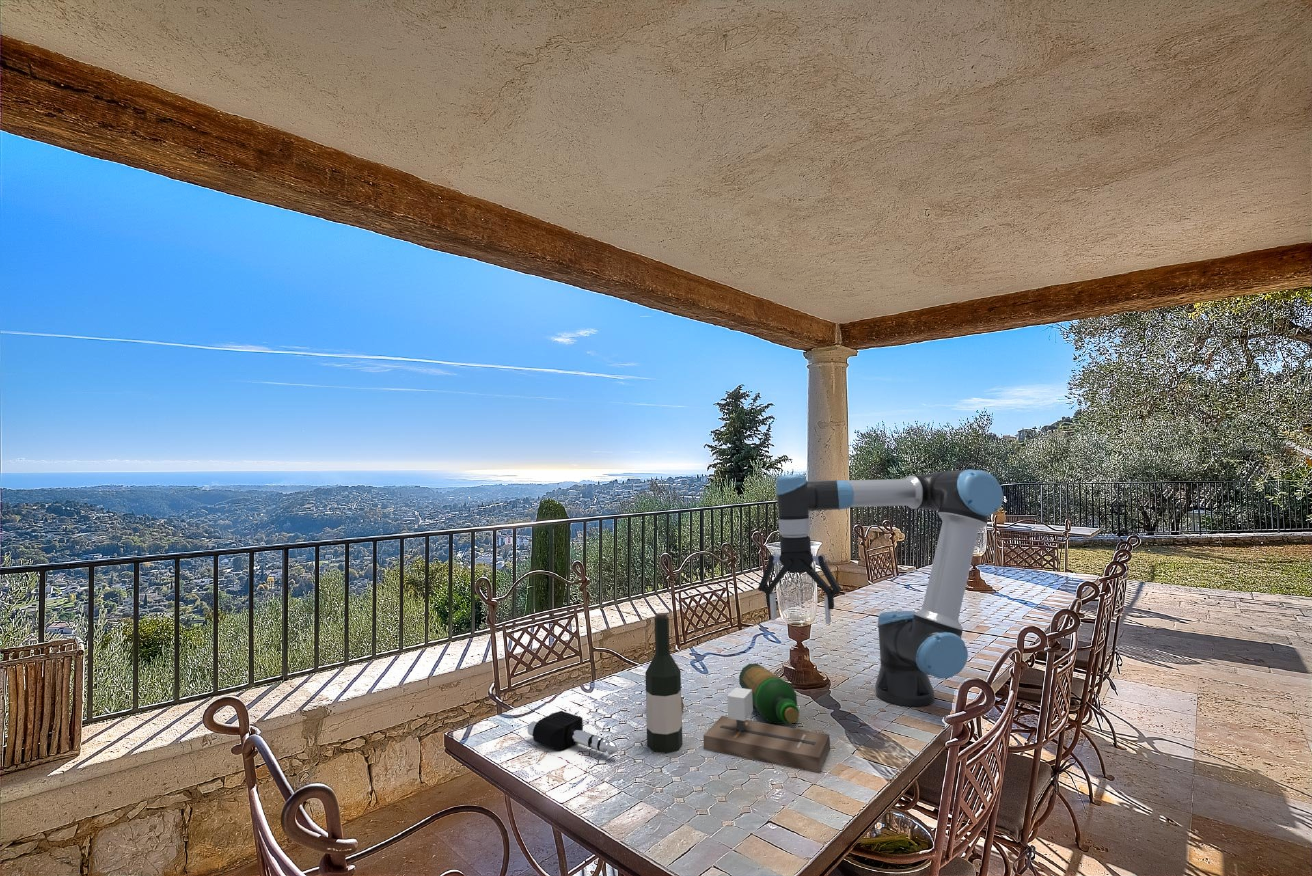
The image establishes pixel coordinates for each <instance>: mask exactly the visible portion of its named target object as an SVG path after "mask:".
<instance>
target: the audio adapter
mask: <svg viewBox="0 0 1312 876" xmlns="http://www.w3.org/2000/svg"><path fill="white" fill-rule="evenodd" d="M527 734H528V735H529V736H531V737H532V738H533V739H532V740H533V741H534V742H535V743H538V744H540V745H542V746H544V747H547V748H550V749H553V750H555V751H558V752H564V751H565V750H567V749H569V748H571V747H574V746H576V745H577V744H579V745H582V746H585V747H587V748H590V749H593V750H595V751H598V752H601V753H607V754H608V755H609V756H610V755H611V756H612V755H613V754H615V753H617V752H618V751H619V748H618V746H617V745H616V742H615V741H610V740H608V738H604V737H602V736H600V735H599V736H598V735H595V734H592V733H590V732H586V731H584V721H583V717H582V716H578V715H575V714H573V713H570V712H566V711H563V710H560V711H556V712H551V713H550V714H549V715H547V716H545V717H543V718H541V719H540V720H538V721H535V720H533V721H531V722H530V723H529V724H528V726H527Z"/></svg>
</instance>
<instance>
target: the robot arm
mask: <svg viewBox="0 0 1312 876" xmlns="http://www.w3.org/2000/svg"><path fill="white" fill-rule="evenodd" d="M775 490H776V492H775V493H776V499H777V511H778V529H779V531H778V532H779V535H781V536H780V538H779V545H780V555H777V554H774V553H772V554H770V555H768V559H767V560H768V561H767V562H768V563H767V566H766V568H765V570H764V573H763V575H762V578H761V581H760V582H759V585H758V588H757V589H758V591H759V592H763V593H764V594H765V602H766V606H767V607H770V621H773V622H774V621H775V620H777V617H778V615H777V601H776V597H777V596H776V592H773V590H774V589H775V588H776V587H777V586H778V584H779V582H780V581H781V580H782V579H783V578H784V576H785V575H786V574H787V573H790V574H795V573H797V574H805V573H806V574H807V575H808V576H809V577H810V578H811V579H812V580H813V581H814V582H815V584H816V585H817V586H818V587H819V588H820V589H821V590H822V591H823V592H824V593H825V595H824V596H823V601H824V603H823V604H824V612H825V613H824V614H825V617H824V618H825V624H826V625H830V624H831V622H832V617H831V616H832V615H831V613H832V612H831V610H834V608H835V599H834V598H835V597H834V596H835V595H838V594H840V593H841V589H842V588H841V587H840V585H839V583H838V582H837V580H836V579H835V576H834V574H833V573H832V571H831V568H829V566H828V564H827V562H826V556H825V555H824V554H820V555H813V554H812V545H811V537H810V536H809V535H810V533H811V532H810V531H811V530H810V528H811V527H810V515H809V512H813V511H832V510H834V511H836V510H837V511H841V510H846V509H850V508H858V507H859V508H860V507H861V508H863V507H864V508H865V507H896V506H897V507H901V506H904V507H905V506H907V507H908V508H910V509H911V510H930V511H935V512H937V514H938V516H939V518H940V520H941V521H942V522H941V527H940V531H939V535H938V539H937V544H936V548H935V553H934V557H933V561H932V565H931V570H930V573H929V578H928V583H927V585H926V590H925V594H924V599H923V603H922V608H921V609H919V610H917V611H907V610H900V611H899V610H898V611H897V610H895V611H894V610H893V611H892V610H891V611H883V612H880V613H879V615H878V618H877V620H878V621H877V628H878V640H879V641H878V642H879V644H878V645H879V658H880V667H879V671H878V673H877V674H878V675H877V677H876V682H875V685H874V686H875V689H874V690H875V696H877V697H878V698H879V699H881V700H883V702H884V701H885V702H887V703H890V704H894V705H897V706H905V707H923V706H928V705H931V704H933V703H934V702H935V691H934V688H933V685H932V683H931V680H930V678H929V676H931V677H934V678H938V679H950V678H953V677H954V676H956V675H959V673H960V672H962V670H964V668H965V666H966V664H967V662H968V658H969V656H968V655H969V653H968V647H967V646H966V643H965V641H964V640H963V639H962V636H963V635H962V634H963V632H964V628H963V627H962V625H961V623H960V622H959V619H960V613H961V609H962V604H963V600H964V595H965V591H966V587H967V583H968V578H969V574H970V569H971V566H972V560H973V556H974V551H975V547H976V544H977V539H978V535H979V531H980V530H981V529H983V528H985V527H986V526H988V520H989V516H991V515H994V514H995V513H996V512H997V511H999V510H1000V508H1001V506H1002V505H1003V500H1004V492H1003V488H1002V486H1001V484H999V482H998V480H997V478H996V477H995V476H994V475H992V474H991V473H989V472H987V471H985V470H980V469H972V468H971V469H964V470H944V471H943V470H942V471H937V472H932V473H931V472H930V473H926V474H919V475H918V474H915V475H907V477H906V478H901V479H900V478H898V479H892V478H891V479H890V478H889V479H858V480H857V479H853V480H851V479H850V480H849V479H848V480H845V479H844V480H843V479H842V480H838V479H835V480H812V481H811V480H809V481H808V480H807V477H806V475H804V474H790V475H789V474H787V475H786V474H785V475H779V476H778V477H777V478H776V489H775ZM778 562H779V563H781V565H783V566H782V568H781V569H780V570H779V571H778V573H777V574H776V576H775V577H774V578H773V580H772V581H771V582H770V584H769V585H768V582H769V580H770V577H771V575H772V572H773V570H774V568H775V565H776V564H778ZM814 562H815V563H816V565H819V568H820V569H821V571H822V573H823V576H824V577H825V578H826V580H827V582H828V583H829V585H828V583H827V582H825V580H824V579H823V578H822V577H821V576H820V575H819V574H818V572H817V571H816V570H815V568H814V567H813V564H812V563H814ZM767 585H768V586H767Z"/></svg>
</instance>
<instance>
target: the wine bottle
mask: <svg viewBox="0 0 1312 876" xmlns="http://www.w3.org/2000/svg"><path fill="white" fill-rule="evenodd" d="M667 614H668V613H666V612H659V613H658V612H657V613H656V616H655V617H654V618H653V619H654V649H655V652H654V656H653V658H652V660H651V662H650V663H649V665H648V667H647V669H646V671H645V711H646V712H645V713H646V717H645V719H646V747H647V748H648V749H650V750H651V752H653V753H657V754H671V753H675V752H678V751H680V750H681V747H682V745H683V744H684V743H683V719H682V718H683V715H682V712H683V710H682V705H681V697H682V678H681V677H682V676H681V675H682V674H681V673H682V672H681V669H680V668H679V665H678V664H677V662H676V661H675V660H674V657H672V654H671V653H670V651H671V650H670V649H671V648H670V618H669V616H667Z"/></svg>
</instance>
